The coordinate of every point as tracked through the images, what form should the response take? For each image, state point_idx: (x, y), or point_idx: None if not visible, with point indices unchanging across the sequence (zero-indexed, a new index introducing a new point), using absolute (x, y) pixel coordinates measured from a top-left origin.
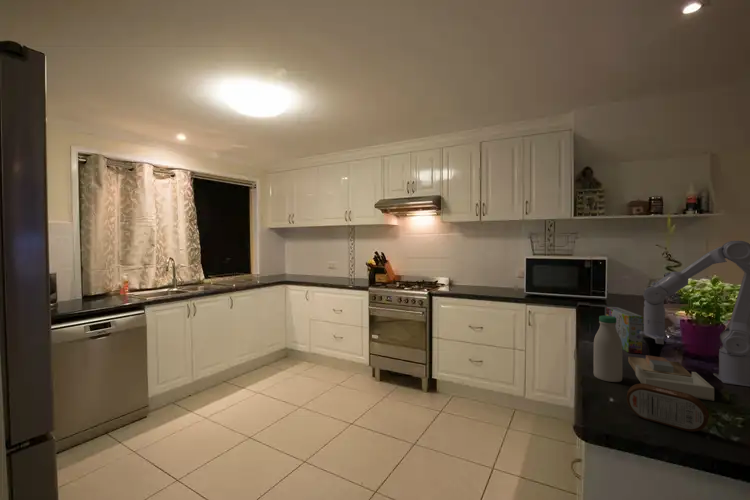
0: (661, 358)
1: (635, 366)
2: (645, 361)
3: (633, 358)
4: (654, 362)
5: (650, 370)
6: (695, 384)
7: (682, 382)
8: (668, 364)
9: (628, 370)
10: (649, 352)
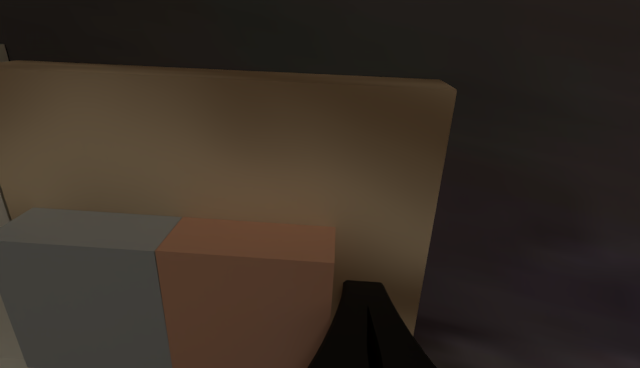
0: (265, 361)
1: (53, 72)
2: (312, 218)
3: (381, 128)
4: (62, 265)
5: (8, 181)
6: (16, 363)
7: None
8: (79, 354)
9: (123, 9)
10: (333, 321)
